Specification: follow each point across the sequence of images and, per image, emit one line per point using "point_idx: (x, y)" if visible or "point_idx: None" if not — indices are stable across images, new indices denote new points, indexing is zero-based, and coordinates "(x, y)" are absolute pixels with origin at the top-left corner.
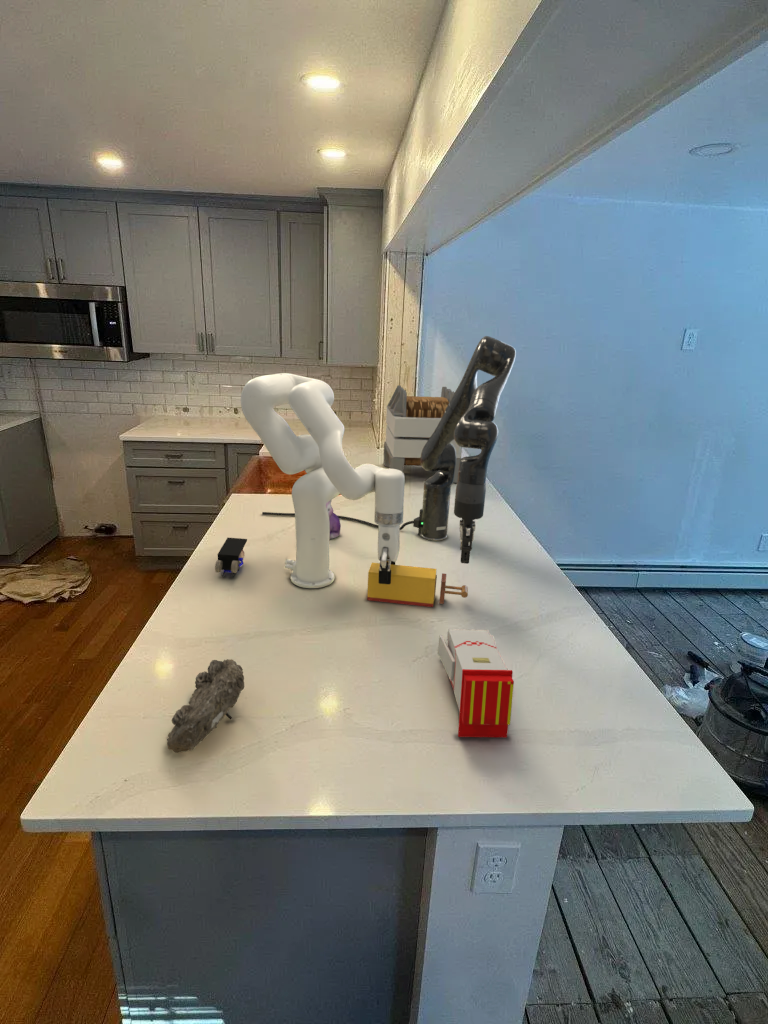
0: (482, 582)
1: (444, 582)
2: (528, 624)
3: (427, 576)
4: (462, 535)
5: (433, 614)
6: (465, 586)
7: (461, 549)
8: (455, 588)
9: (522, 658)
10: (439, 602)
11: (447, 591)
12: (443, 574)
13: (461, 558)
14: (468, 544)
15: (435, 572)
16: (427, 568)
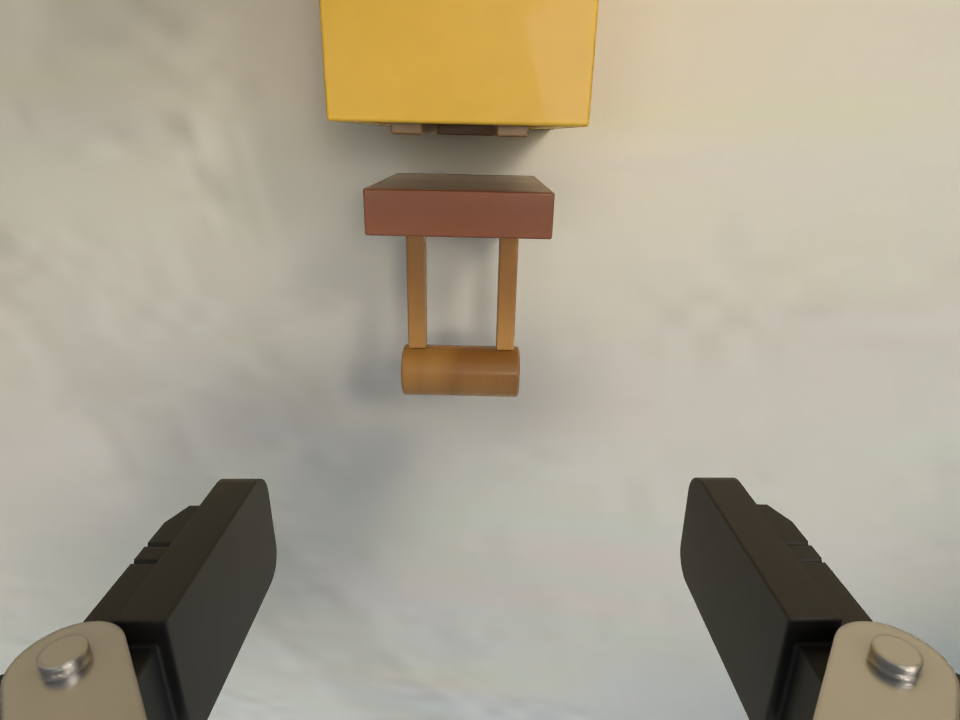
0: (793, 459)
1: (365, 221)
2: (329, 640)
3: (359, 18)
4: (822, 672)
5: (282, 132)
6: (498, 385)
7: (50, 636)
8: (497, 304)
9: (5, 588)
10: (397, 173)
11: (411, 241)
12: (528, 208)
13: (198, 518)
14: (711, 635)
15: (487, 116)
16: (580, 7)
